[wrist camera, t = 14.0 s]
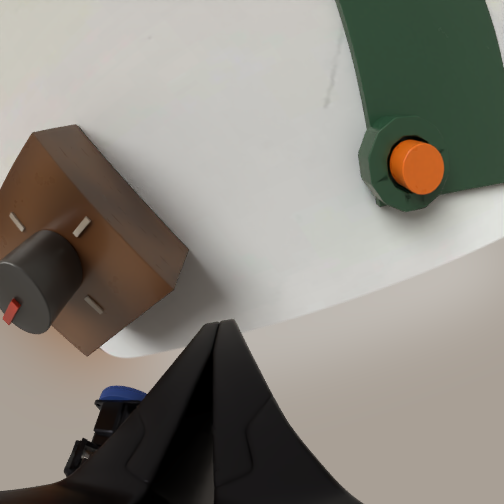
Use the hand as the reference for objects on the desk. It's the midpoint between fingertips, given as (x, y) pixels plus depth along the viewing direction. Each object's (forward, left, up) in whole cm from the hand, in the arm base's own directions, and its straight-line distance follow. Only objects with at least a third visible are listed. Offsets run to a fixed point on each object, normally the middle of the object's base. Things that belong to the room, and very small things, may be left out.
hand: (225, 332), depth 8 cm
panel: (+1, +11, -12) cm, 16 cm away
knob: (+1, +11, -7) cm, 13 cm away
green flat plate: (+7, -16, -12) cm, 21 cm away
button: (+1, -11, -10) cm, 15 cm away
